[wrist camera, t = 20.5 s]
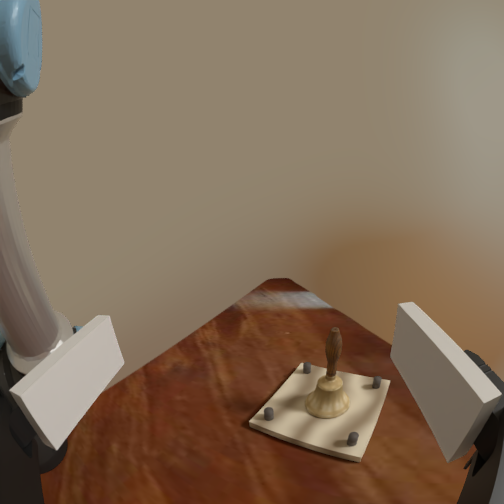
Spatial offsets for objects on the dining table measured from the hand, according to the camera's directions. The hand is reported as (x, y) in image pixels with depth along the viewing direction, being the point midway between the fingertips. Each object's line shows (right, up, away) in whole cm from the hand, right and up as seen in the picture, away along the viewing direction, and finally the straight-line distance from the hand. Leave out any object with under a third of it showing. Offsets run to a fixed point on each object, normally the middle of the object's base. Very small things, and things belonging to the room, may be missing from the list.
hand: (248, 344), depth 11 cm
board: (+14, -25, +32) cm, 42 cm away
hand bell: (+14, -23, +31) cm, 41 cm away
